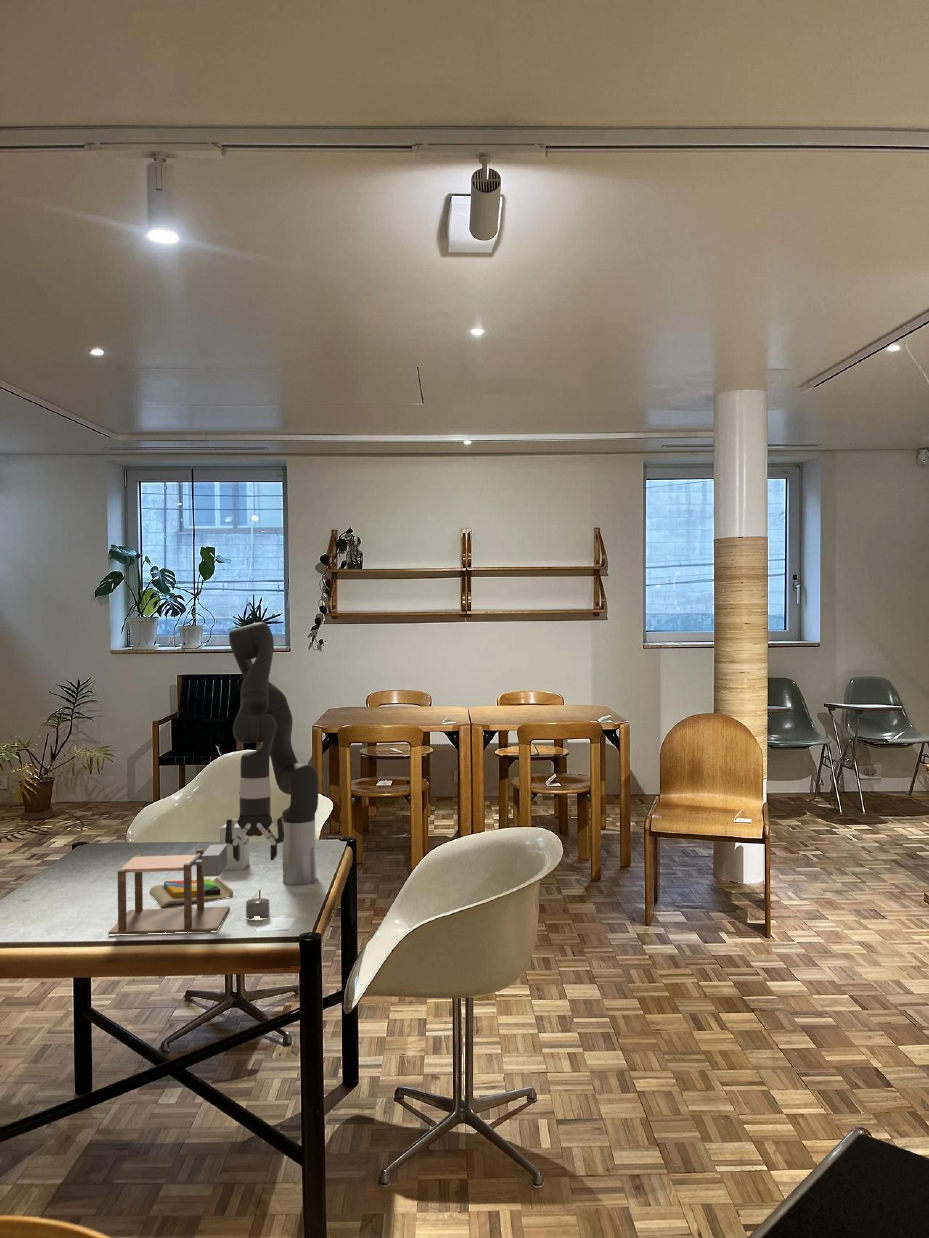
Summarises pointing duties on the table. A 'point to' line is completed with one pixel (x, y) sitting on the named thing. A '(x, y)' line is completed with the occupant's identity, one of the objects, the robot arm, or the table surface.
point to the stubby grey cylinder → (257, 908)
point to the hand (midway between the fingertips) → (255, 859)
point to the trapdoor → (182, 862)
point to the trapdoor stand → (167, 918)
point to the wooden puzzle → (175, 891)
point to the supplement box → (244, 849)
